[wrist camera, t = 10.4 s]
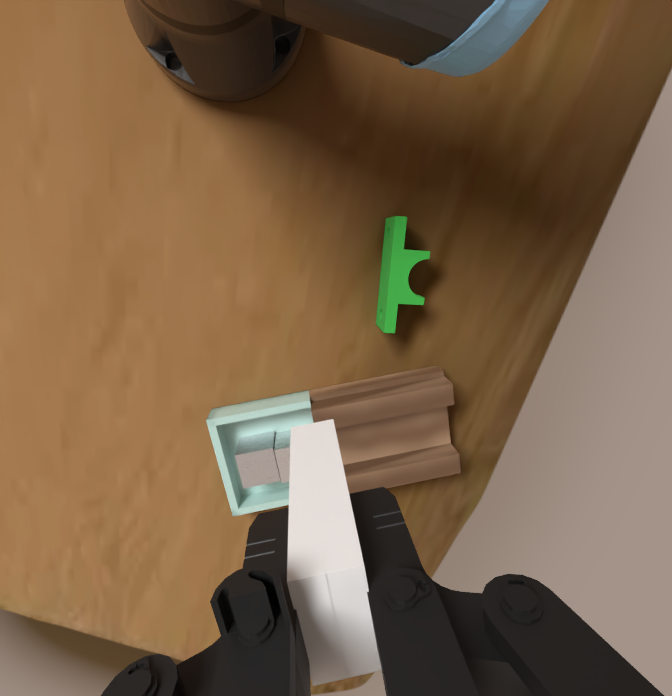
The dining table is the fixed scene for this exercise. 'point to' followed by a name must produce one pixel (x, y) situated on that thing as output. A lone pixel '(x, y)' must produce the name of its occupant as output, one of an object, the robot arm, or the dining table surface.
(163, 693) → the robot arm
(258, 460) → the chip
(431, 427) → the slot board
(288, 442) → the chip
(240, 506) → the tray
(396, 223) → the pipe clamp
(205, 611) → the dining table surface
